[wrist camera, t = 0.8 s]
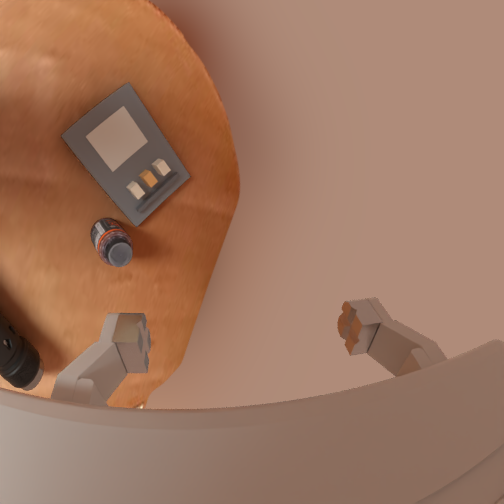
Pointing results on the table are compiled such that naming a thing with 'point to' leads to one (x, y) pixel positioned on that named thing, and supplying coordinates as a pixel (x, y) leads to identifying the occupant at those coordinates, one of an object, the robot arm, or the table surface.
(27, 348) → the muzzle brake
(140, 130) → the breaker board
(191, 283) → the table surface
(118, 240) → the supplement bottle
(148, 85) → the table surface
